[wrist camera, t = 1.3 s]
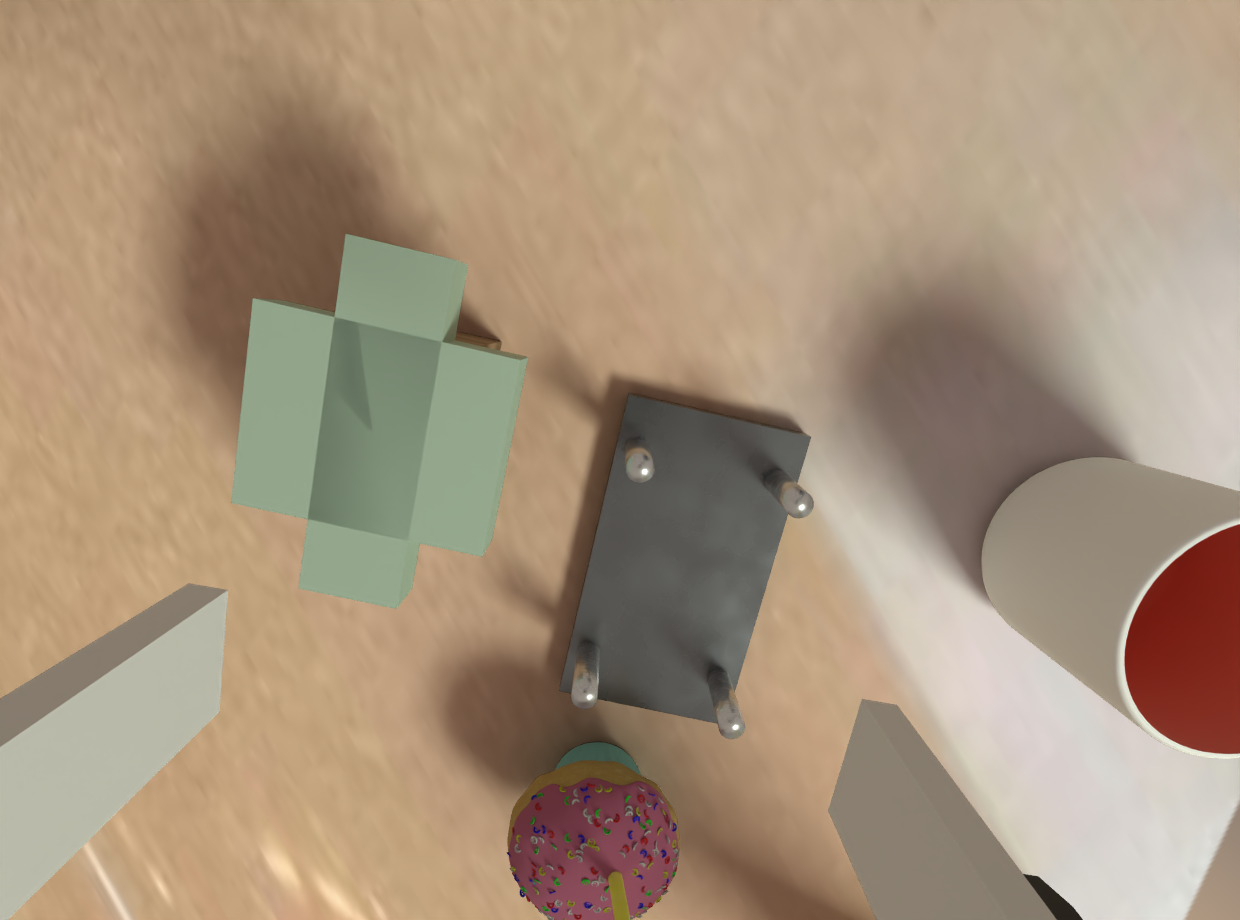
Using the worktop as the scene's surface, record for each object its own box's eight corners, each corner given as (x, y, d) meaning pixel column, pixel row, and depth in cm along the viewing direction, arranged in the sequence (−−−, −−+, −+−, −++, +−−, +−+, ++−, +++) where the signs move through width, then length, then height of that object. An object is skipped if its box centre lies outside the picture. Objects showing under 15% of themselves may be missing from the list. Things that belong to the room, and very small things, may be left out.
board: (289, 221, 25) (261, 213, 23) (543, 282, 25) (536, 279, 23) (251, 554, 28) (224, 572, 26) (479, 602, 28) (469, 623, 26)
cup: (955, 480, 32) (1102, 549, 22) (1155, 429, 32) (1394, 477, 22) (984, 654, 34) (1129, 786, 25) (1171, 608, 34) (1397, 726, 24)
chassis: (628, 392, 31) (630, 406, 26) (805, 433, 32) (839, 454, 27) (561, 680, 34) (551, 740, 30) (721, 713, 35) (738, 777, 30)
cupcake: (635, 690, 35) (644, 879, 23) (697, 811, 36) (734, 1046, 25) (494, 748, 35) (433, 960, 24) (561, 865, 37) (535, 1117, 25)
